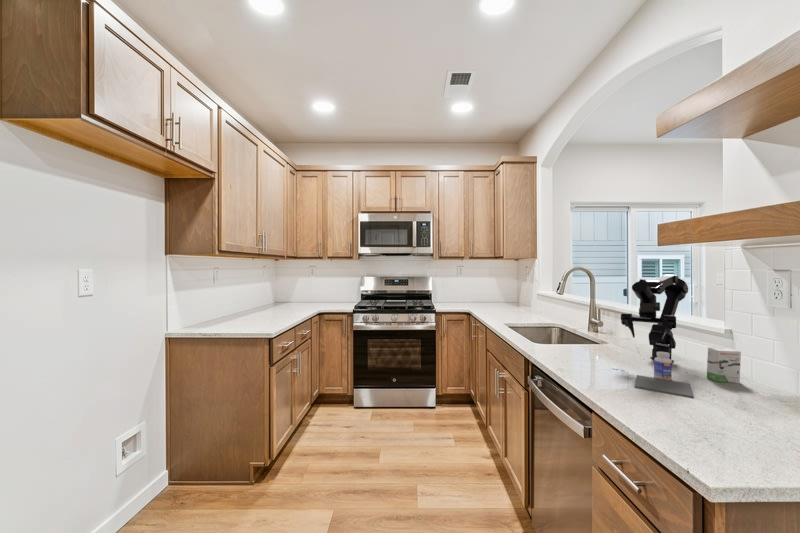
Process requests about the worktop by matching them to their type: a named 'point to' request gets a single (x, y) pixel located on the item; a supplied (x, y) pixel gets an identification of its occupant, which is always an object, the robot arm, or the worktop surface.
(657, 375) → the pill bottle
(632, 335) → the robot arm
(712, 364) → the ink box
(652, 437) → the worktop surface
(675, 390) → the rubber mat
